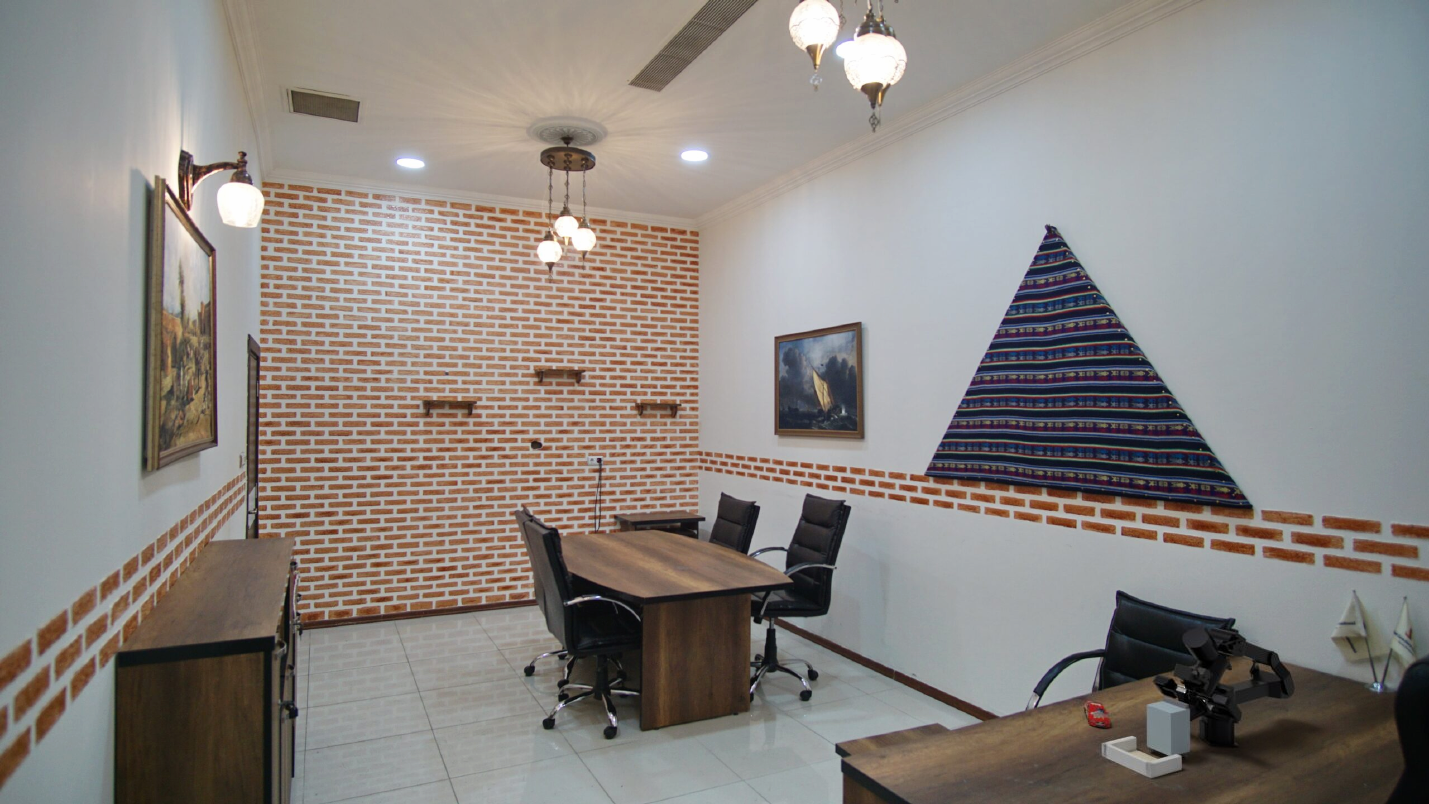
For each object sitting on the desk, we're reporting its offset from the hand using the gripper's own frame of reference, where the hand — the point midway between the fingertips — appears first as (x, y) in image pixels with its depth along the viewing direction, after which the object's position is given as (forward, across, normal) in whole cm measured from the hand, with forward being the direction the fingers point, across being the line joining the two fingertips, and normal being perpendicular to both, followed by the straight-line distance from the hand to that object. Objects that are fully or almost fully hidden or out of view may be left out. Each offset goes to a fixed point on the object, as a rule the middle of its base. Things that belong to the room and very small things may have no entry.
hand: (1179, 724), depth 184 cm
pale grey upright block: (+8, 0, +2) cm, 8 cm away
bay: (+14, 0, -5) cm, 15 cm away
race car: (+6, -22, +5) cm, 24 cm away
